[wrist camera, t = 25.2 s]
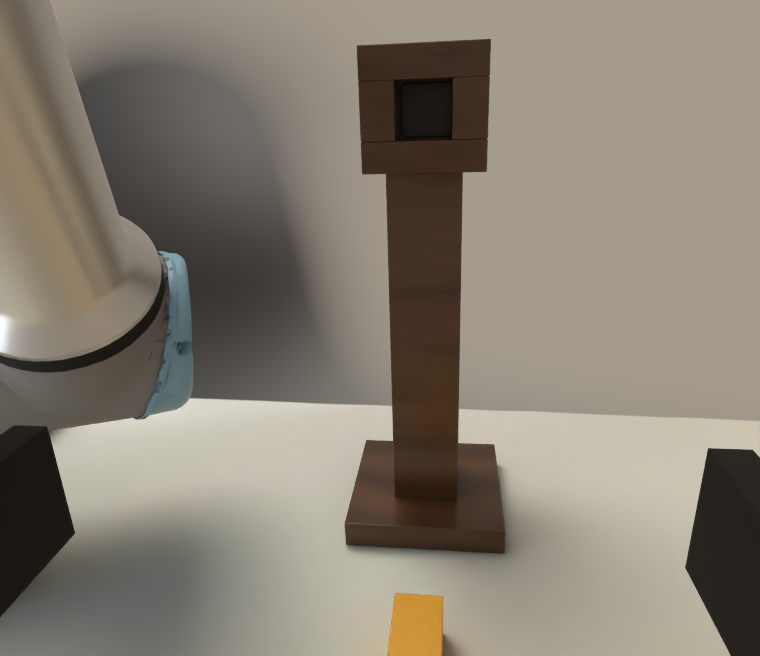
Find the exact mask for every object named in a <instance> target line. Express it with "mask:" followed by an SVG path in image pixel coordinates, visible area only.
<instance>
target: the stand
mask: <svg viewBox="0 0 760 656" xmlns="http://www.w3.org/2000/svg"><path fill="white" fill-rule="evenodd" d="M490 50H491V39H479V40H459V41H437V42H417V43H399V44H376V45H358V46H357V62H358V81H359V82H358V85H359V109H360V134H361V142H362V143H361V157H362V173H363V174H386V195H387V228H388V229H387V233H388V266H389V267H388V269H389V304H390V340H391V377H392V414H393V441H375V440H366V444H365V447H364V451H363V455H362V459H361V463H360V467H359V471H358V474H357V478H356V482H355V486H354V490H353V494H352V498H351V501H350V505H349V509H348V513H347V517H346V521H345V535H346V544H348V545H366V546H384V547H402V548H420V549H438V550H456V551H474V552H492V553H504V549H505V525H504V517H503V509H502V501H501V493H500V486H499V478H498V470H497V462H496V454H495V447H494V445H493V444H464V443H458V416H459V356H460V298H461V297H460V295H461V242H462V241H461V239H462V184H463V181H462V180H463V172H486V171H487V145H488V144H487V143H488V140H487V138H488V114H489V82H490V81H489V80H490V77H489V75H490ZM401 137H402V138H401Z"/></svg>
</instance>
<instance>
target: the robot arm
mask: <svg viewBox="0 0 760 656" xmlns="http://www.w3.org/2000/svg"><path fill="white" fill-rule="evenodd" d="M191 330H192V326H191V310H190V296H189V285H188V276H187V268H186V263H185V261H184V259H183V258H182V257H181V256H179V255H178V254H175V253H167V252H164V251H156V249H155V247H154V245H153V243H152V241H151V240H150V238H149V237H148V236H147V234H146V233H144V232H143V231H142V230H141V229H140V228H139V227H138V226H136V225H135V224H134V223H132V222H131V221H129V220H127V219H125V218H124V217H122V216H119V214H118V211H117V208H116V205H115V202H114V199H113V196H112V193H111V190H110V186H109V183H108V180H107V177H106V174H105V171H104V168H103V165H102V162H101V159H100V155H99V152H98V150H97V146H96V143H95V140H94V137H93V134H92V131H91V128H90V124H89V121H88V118H87V115H86V112H85V109H84V106H83V103H82V100H81V97H80V93H79V91H78V87H77V84H76V81H75V78H74V75H73V72H72V69H71V66H70V63H69V60H68V56H67V53H66V50H65V47H64V44H63V41H62V38H61V35H60V32H59V29H58V25H57V22H56V19H55V16H54V13H53V10H52V7H51V4H50V1H49V0H0V617H1V615H2V614H3V613H4V612H5V611H6V610H7V609H8V608H9V606H10V605H11V604H12V603H13V602H14V601H15V600H16V599H17V598H18V596H19V595H20V594H21V593H22V592H23V591H24V590H25V589H26V587H27V586H28V585H29V584H30V583H31V582H32V581H33V580H34V579H35V577H36V576H37V575H38V574H39V573H40V572H41V571H42V570H43V568H44V567H45V566H46V565H47V564H48V563H49V562H50V561H51V560H52V558H53V557H54V556H55V555H56V554H57V553H58V552H59V551H60V549H61V548H62V547H63V546H64V545H65V544H66V543H67V542H68V540H69V539H70V538H71V537H72V536H73V535H74V534H75V531H74V527H73V524H72V520H71V516H70V512H69V508H68V504H67V501H66V497H65V493H64V489H63V485H62V481H61V477H60V474H59V470H58V466H57V462H56V458H55V454H54V451H53V447H52V443H51V439H50V435H49V430H56V429H62V428H69V427H75V426H82V425H89V424H95V423H102V422H108V421H115V420H121V419H128V418H134V419H145V418H146V417H148V416H149V415H152V414H157V413H162V412H166V411H171V410H175V409H178V408H180V407H182V406H183V405H184V404H185V403H186V402H187V401H188V400H189V398H190V396H191V393H192V388H193V354H192V345H191V341H192V336H191ZM685 568H686V570H687V572H688V574H689V576H690V578H691V580H692V581H693V583H694V585H695V587H696V589H697V591H698V593H699V595H700V597H701V599H702V601H703V603H704V605H705V607H706V609H707V610H708V612H709V614H710V616H711V618H712V620H713V622H714V624H715V626H716V628H717V630H718V632H719V634H720V636H721V638H722V639H723V641H724V643H725V645H726V647H727V649H728V651H729V653H730V655H731V656H760V457H759V456H758V455H757V454H756V453H755V452H754V451H753V450H741V449H712V448H708V452H707V457H706V462H705V468H704V473H703V478H702V483H701V488H700V494H699V499H698V504H697V509H696V515H695V520H694V525H693V530H692V535H691V541H690V546H689V551H688V556H687V562H686V567H685Z"/></svg>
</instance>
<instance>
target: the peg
mask: <svg viewBox="0 0 760 656" xmlns="http://www.w3.org/2000/svg"><path fill="white" fill-rule="evenodd" d="M442 647H443V597H442V596H431V595H415V594H400V593H395V596H394V605H393V613H392V621H391V630H390V638H389V646H388V655H387V656H442Z"/></svg>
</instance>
